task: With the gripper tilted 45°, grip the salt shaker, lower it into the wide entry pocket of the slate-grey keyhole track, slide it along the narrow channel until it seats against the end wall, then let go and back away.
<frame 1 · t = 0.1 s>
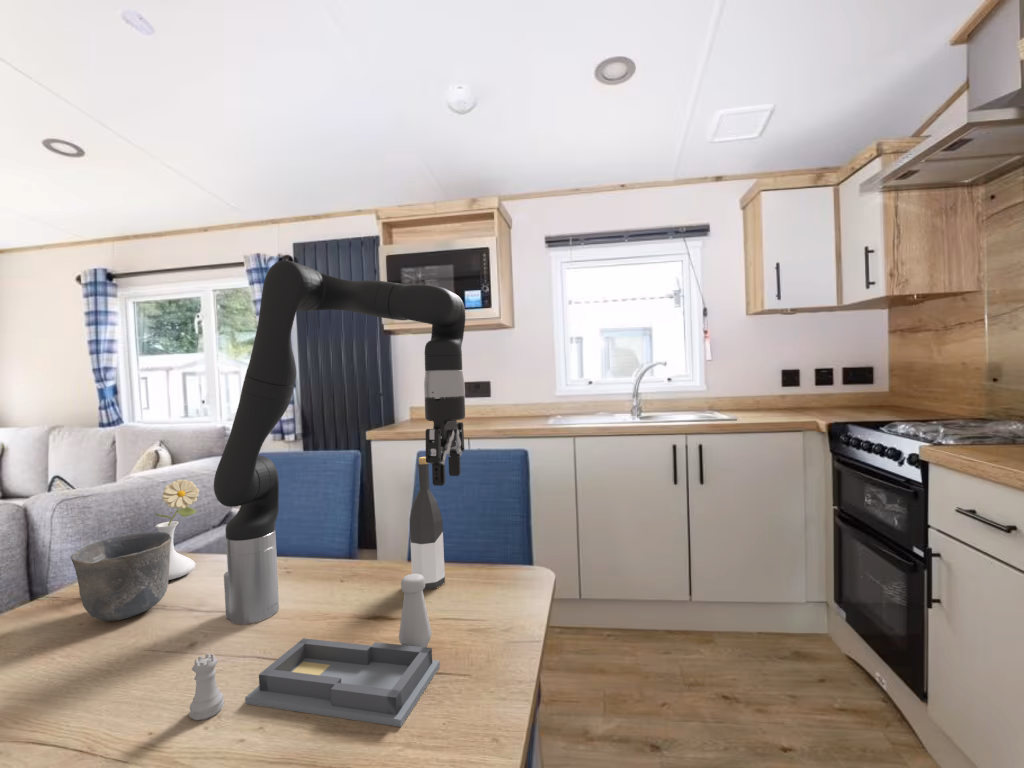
hand: (447, 480, 90), 29 cm above the table, tool pointing down, fingers open, 8 cm apart
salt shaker: (416, 649, 86), on the table
wine bottle: (428, 583, 113), on the table
rook chess piece: (207, 712, 71), on the table
grey stone bowl: (126, 613, 105), on the table
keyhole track: (339, 683, 77), on the table
flower in vase: (173, 576, 124), on the table
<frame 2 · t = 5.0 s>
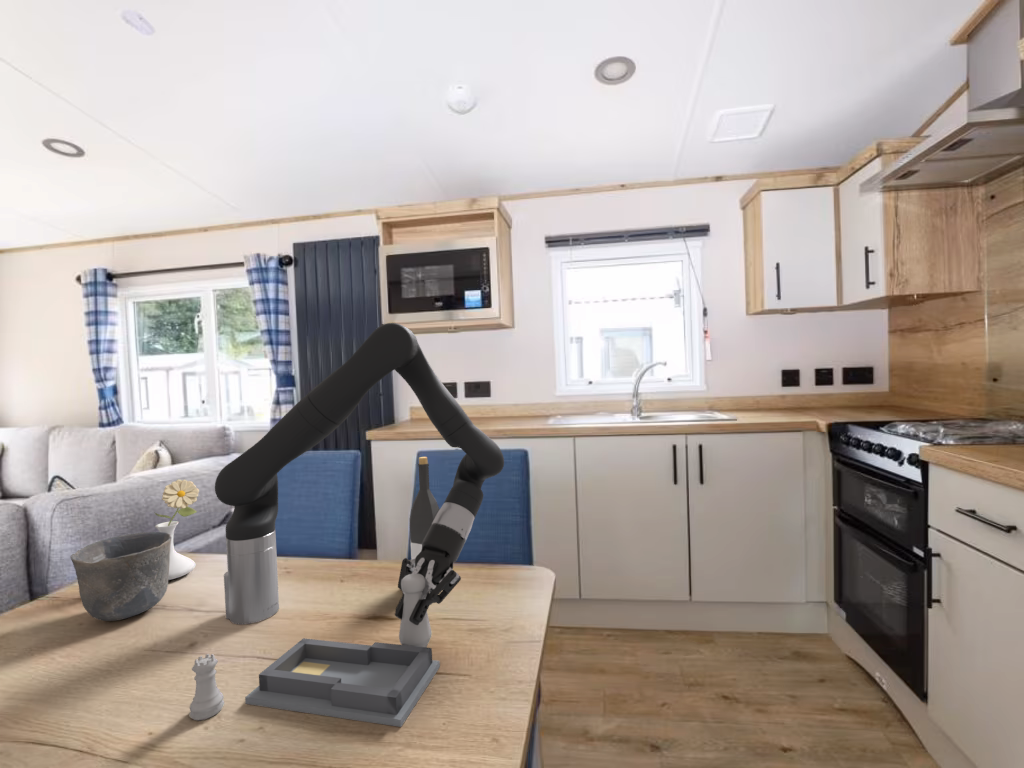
hand: (406, 620, 84), 6 cm above the table, tool tilted 45°, fingers closed on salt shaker, 3 cm apart
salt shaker: (416, 649, 86), on the table, touching gripper
everything else where it was.
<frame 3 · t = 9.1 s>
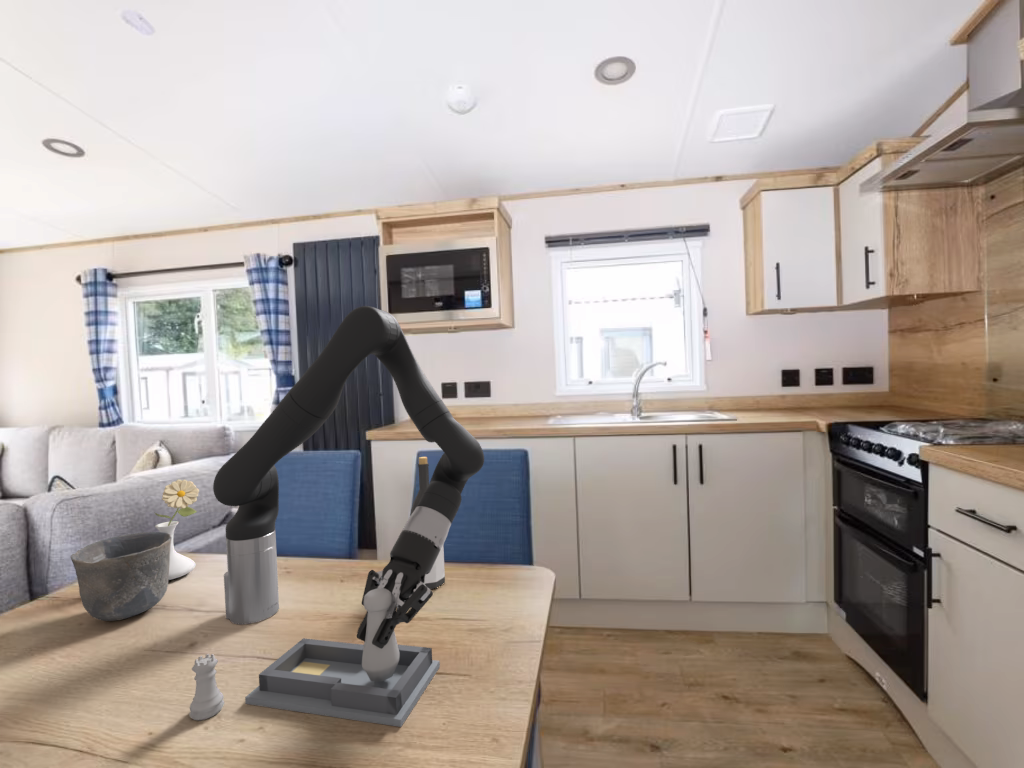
hand: (369, 642, 73), 8 cm above the table, tool tilted 45°, fingers closed on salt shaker, 3 cm apart
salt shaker: (381, 674, 75), point 2 cm above the table, touching gripper
everything else where it was.
when the fingers open (7 cm above the table, at t = 13.6 s): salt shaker stays where it is, resting on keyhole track.
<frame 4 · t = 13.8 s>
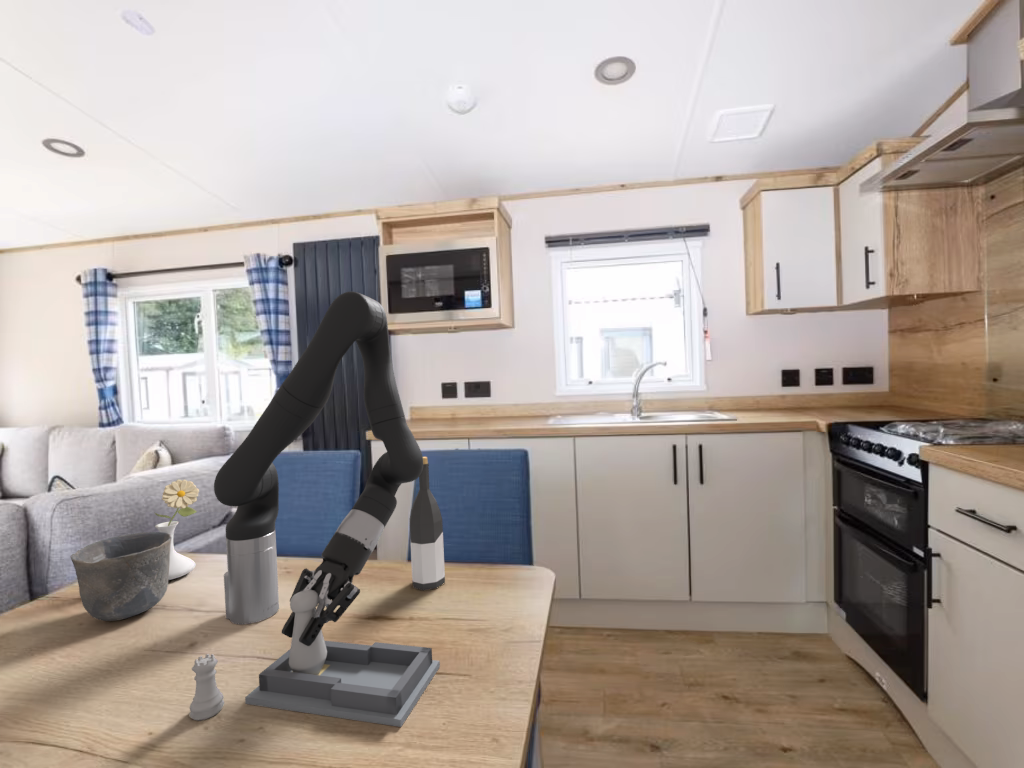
hand: (295, 639, 76), 8 cm above the table, tool tilted 45°, fingers open, 4 cm apart
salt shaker: (309, 673, 78), point 1 cm above the table, touching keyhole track
everything else where it was.
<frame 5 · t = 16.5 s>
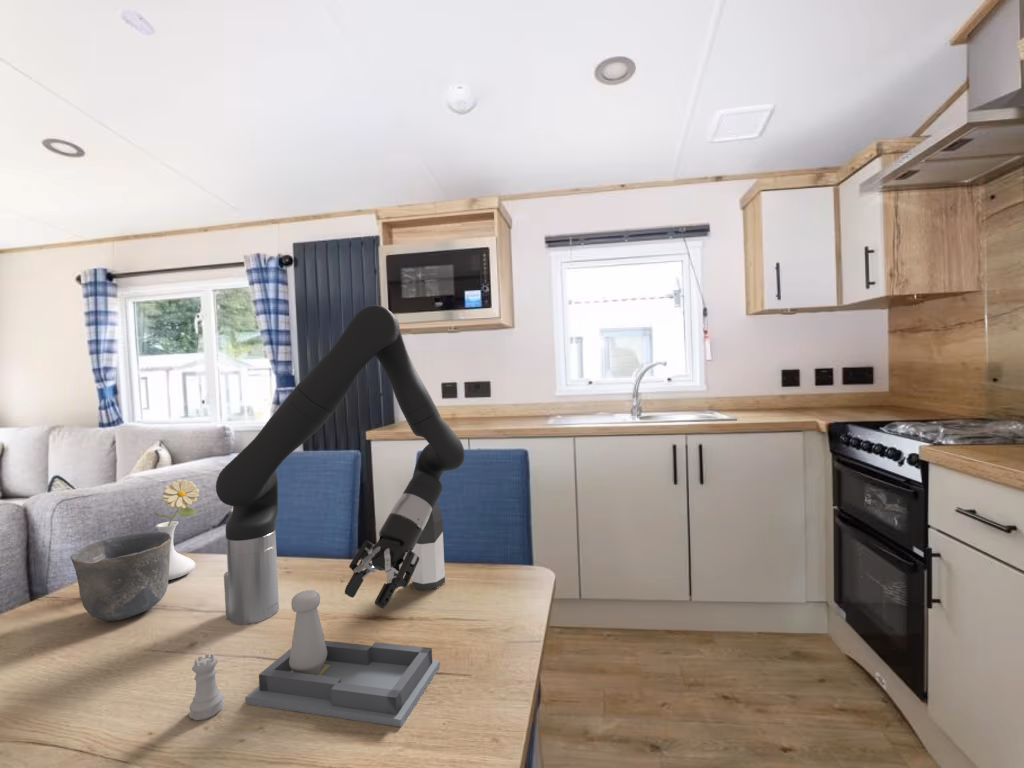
hand: (363, 600, 87), 8 cm above the table, tool tilted 45°, fingers open, 8 cm apart
nothing on the table moved.
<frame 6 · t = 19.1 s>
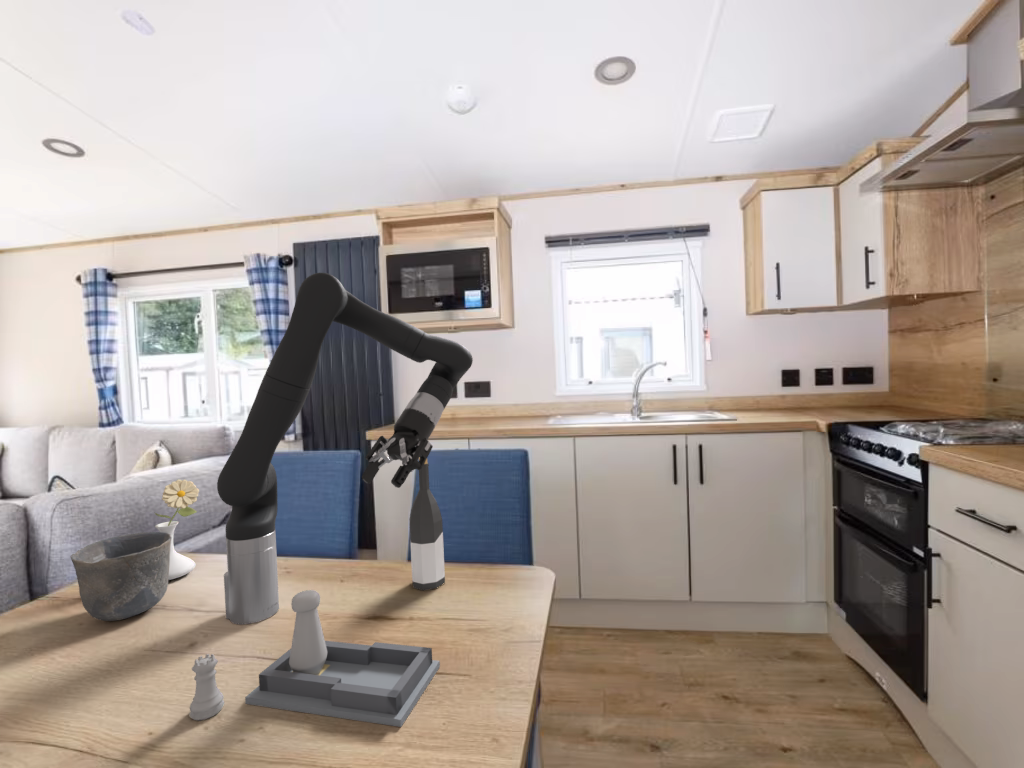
hand: (379, 483, 92), 29 cm above the table, tool tilted 45°, fingers open, 8 cm apart
nothing on the table moved.
at the end: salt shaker 0.4 cm from the target spot on the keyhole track, point 0.9 cm above the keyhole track's base; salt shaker tilted 0°; the gripper is holding nothing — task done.
